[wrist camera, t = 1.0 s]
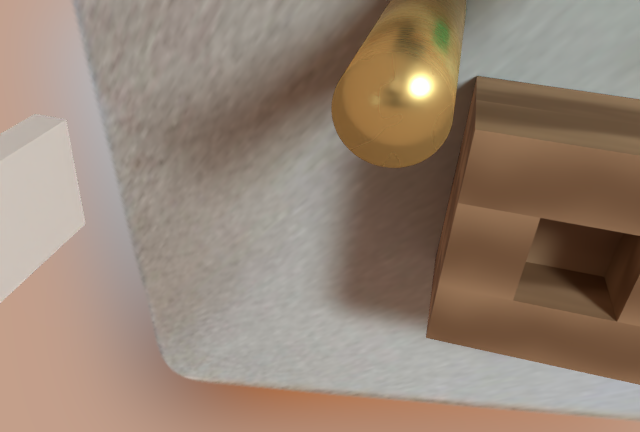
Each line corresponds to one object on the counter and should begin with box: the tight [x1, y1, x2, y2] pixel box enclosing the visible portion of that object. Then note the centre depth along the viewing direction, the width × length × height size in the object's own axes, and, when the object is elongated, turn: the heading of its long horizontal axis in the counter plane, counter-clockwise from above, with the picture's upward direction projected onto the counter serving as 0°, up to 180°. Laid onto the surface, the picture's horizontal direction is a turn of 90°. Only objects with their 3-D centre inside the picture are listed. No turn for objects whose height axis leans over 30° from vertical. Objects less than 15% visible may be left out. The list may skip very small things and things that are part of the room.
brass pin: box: [332, 0, 466, 168], centre depth 23 cm, size 4×4×14 cm
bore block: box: [426, 76, 640, 385], centre depth 29 cm, size 12×12×7 cm
